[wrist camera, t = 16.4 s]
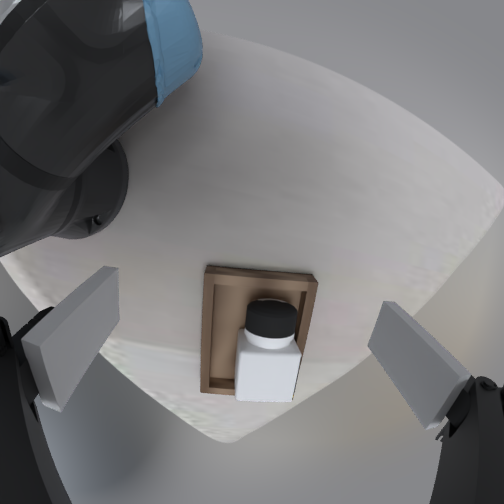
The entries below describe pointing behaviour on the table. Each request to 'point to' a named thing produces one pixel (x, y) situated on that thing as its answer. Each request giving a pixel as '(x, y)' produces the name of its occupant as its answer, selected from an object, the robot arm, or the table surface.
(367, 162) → the table surface
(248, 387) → the medicine bottle
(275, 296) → the walnut tray
